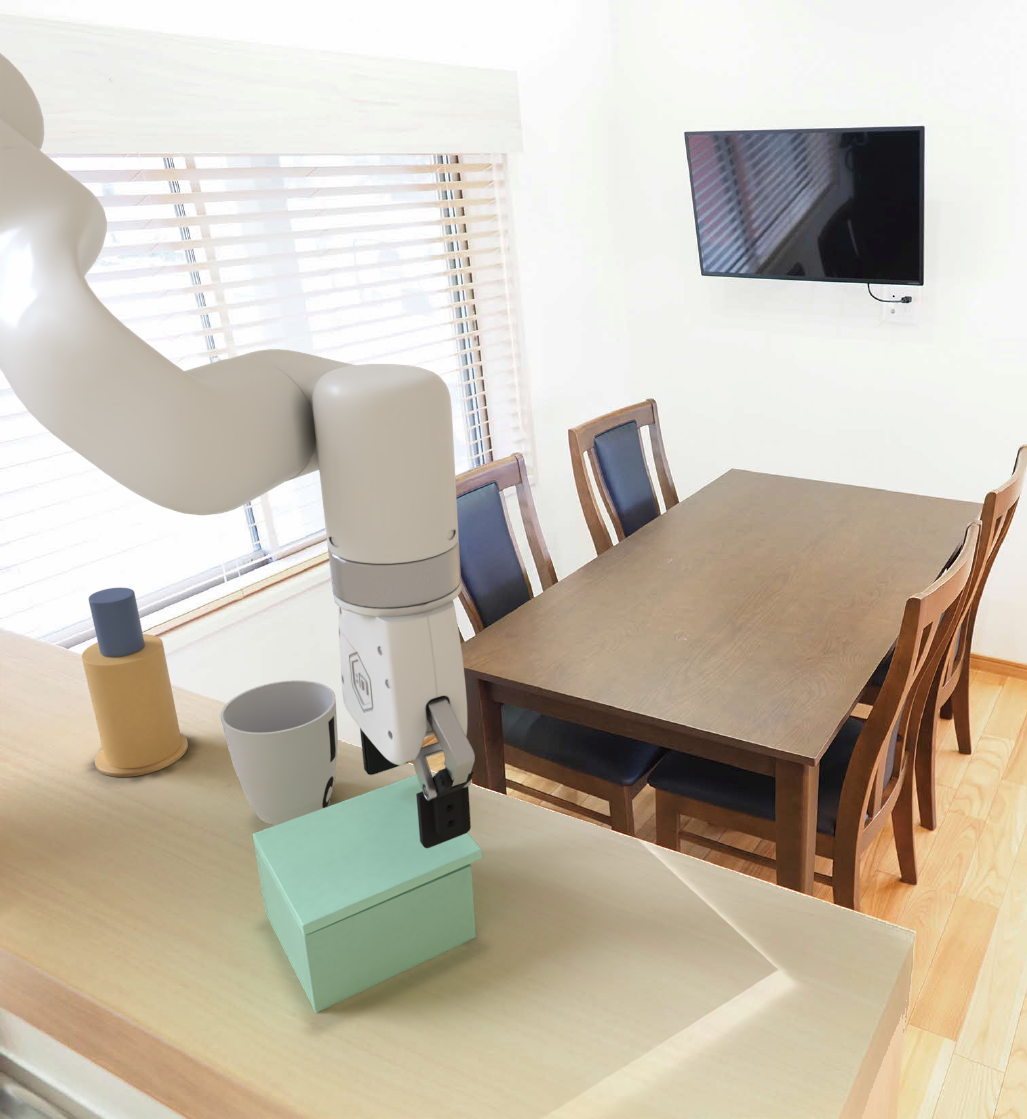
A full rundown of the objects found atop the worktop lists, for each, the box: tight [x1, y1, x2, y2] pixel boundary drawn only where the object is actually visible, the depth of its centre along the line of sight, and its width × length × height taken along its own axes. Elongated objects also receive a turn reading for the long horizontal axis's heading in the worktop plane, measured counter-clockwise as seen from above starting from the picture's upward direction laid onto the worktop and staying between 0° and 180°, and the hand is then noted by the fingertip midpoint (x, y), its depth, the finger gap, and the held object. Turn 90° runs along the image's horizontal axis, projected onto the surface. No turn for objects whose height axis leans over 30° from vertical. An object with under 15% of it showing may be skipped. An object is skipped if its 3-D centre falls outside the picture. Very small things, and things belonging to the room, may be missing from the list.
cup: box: [219, 679, 339, 826], centre depth 76 cm, size 8×8×10 cm
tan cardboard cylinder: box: [81, 587, 182, 768], centre depth 81 cm, size 6×6×15 cm
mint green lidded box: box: [254, 844, 477, 1014], centre depth 64 cm, size 11×11×7 cm
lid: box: [252, 774, 483, 935], centre depth 63 cm, size 11×11×1 cm
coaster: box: [94, 732, 189, 778], centre depth 84 cm, size 7×7×1 cm
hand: (415, 801), depth 65 cm, fingers open, 9 cm apart
